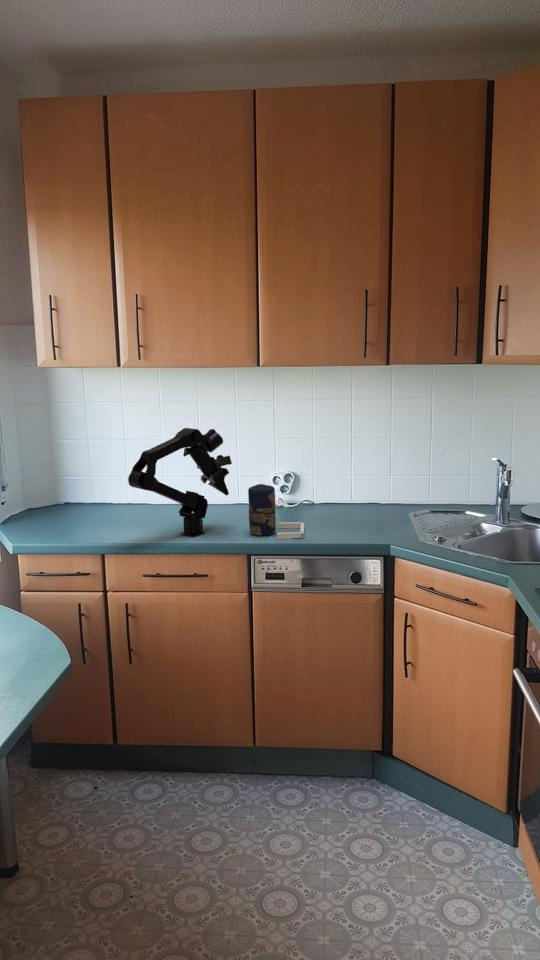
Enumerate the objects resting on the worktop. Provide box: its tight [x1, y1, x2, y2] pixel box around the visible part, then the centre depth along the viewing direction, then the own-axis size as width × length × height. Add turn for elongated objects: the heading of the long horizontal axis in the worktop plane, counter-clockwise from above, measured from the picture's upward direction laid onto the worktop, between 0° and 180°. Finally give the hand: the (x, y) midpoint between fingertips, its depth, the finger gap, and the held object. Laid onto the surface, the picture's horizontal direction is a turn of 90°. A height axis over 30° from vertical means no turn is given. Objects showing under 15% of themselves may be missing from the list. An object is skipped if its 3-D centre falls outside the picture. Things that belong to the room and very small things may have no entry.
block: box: [276, 521, 305, 540], centre depth 265 cm, size 9×15×2 cm, turn 177°
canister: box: [247, 483, 277, 536], centre depth 264 cm, size 10×10×18 cm
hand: (227, 494), depth 268 cm, fingers closed
